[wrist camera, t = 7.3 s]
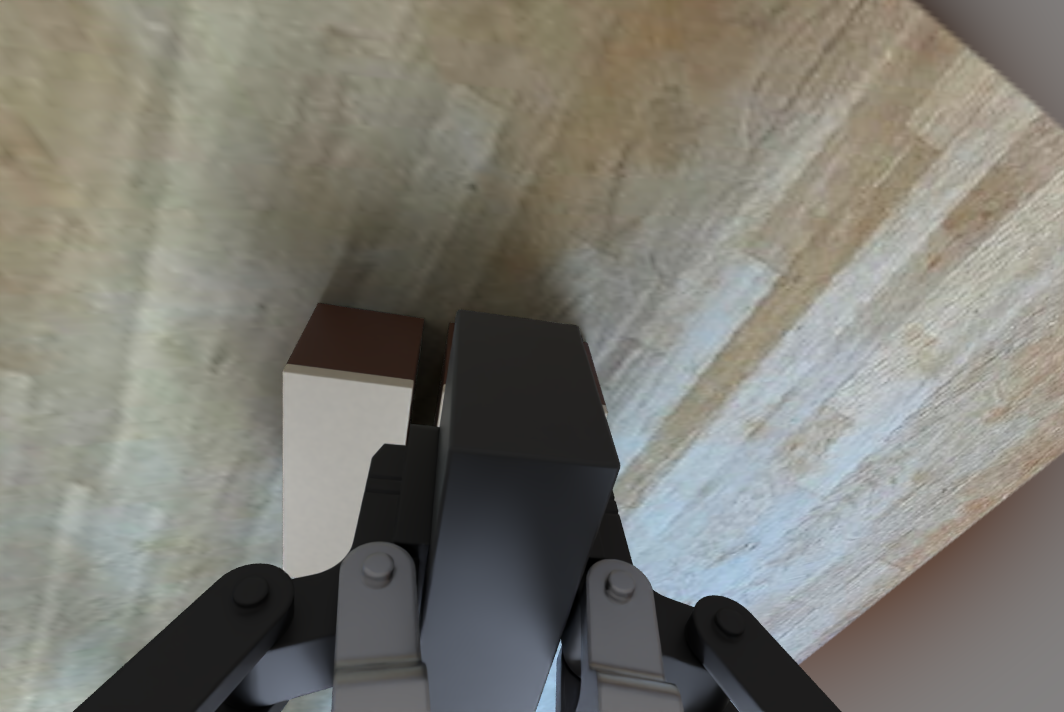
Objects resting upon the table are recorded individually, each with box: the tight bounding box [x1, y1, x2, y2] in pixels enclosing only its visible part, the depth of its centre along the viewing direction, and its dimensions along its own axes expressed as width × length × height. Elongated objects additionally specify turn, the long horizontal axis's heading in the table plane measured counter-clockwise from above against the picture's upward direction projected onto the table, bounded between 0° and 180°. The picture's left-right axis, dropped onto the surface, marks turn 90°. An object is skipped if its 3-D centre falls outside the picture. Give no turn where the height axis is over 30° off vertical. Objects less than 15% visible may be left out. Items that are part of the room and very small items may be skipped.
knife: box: [419, 310, 620, 712], centre depth 15 cm, size 19×3×4 cm, turn 169°
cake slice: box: [283, 303, 424, 578], centre depth 29 cm, size 12×5×6 cm, turn 168°
